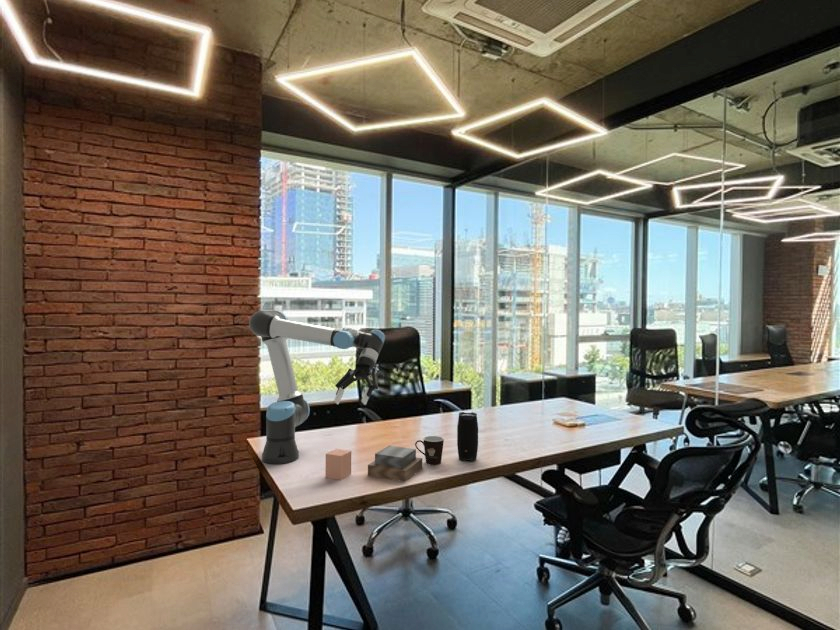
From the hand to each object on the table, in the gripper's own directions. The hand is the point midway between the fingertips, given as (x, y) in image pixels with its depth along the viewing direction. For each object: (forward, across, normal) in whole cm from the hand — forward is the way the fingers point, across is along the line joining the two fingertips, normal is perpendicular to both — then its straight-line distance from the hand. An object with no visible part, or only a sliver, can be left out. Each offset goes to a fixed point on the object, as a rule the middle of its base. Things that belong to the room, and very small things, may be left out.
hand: (349, 402), depth 182 cm
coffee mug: (+6, -24, -35) cm, 43 cm away
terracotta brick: (+26, 0, -10) cm, 28 cm away
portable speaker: (0, -36, -44) cm, 57 cm away
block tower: (+17, -17, -22) cm, 33 cm away
